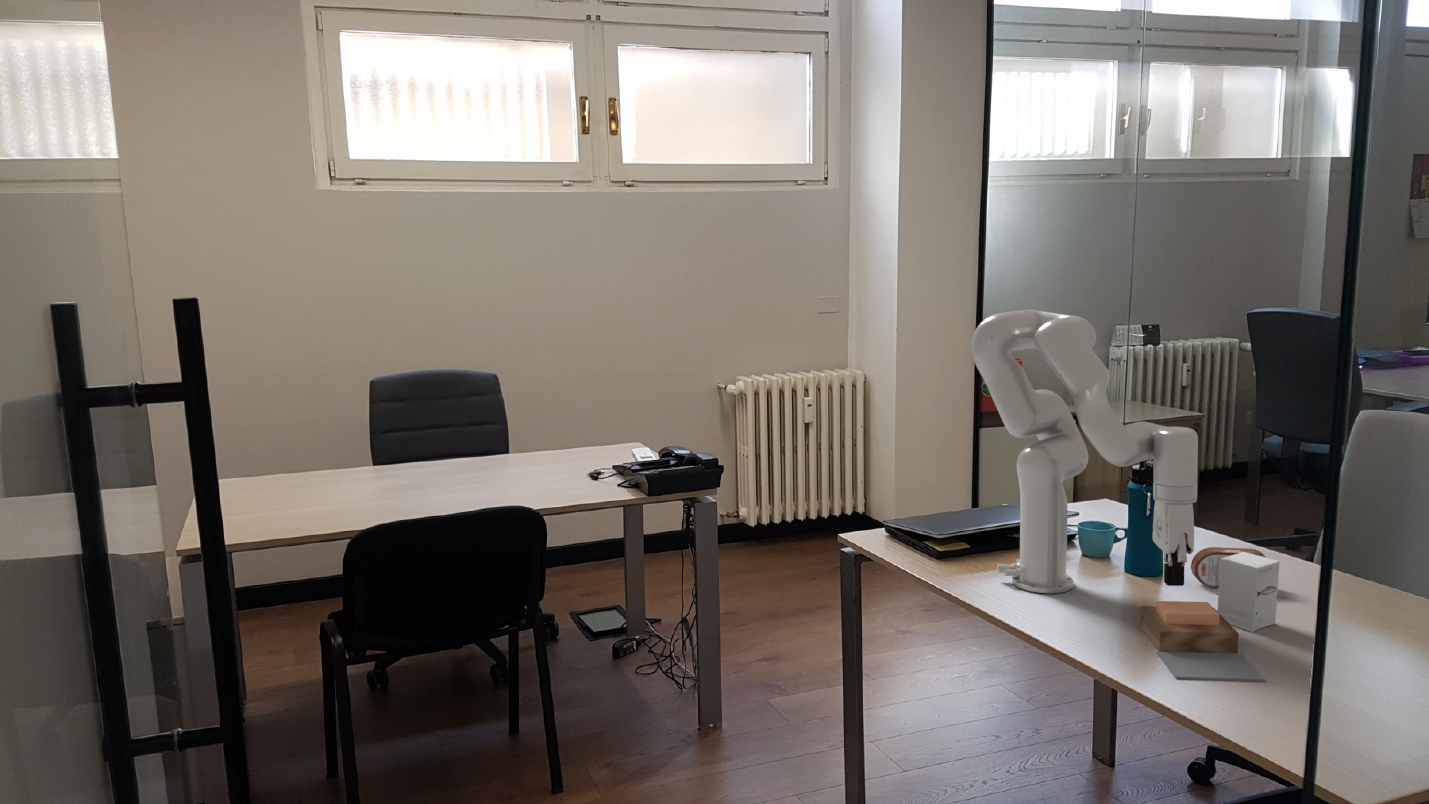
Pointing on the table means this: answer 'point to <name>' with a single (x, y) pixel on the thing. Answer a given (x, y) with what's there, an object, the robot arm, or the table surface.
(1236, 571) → the supplement box
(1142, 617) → the wooden block
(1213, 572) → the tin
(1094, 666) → the table surface
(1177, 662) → the mat
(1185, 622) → the orange block
